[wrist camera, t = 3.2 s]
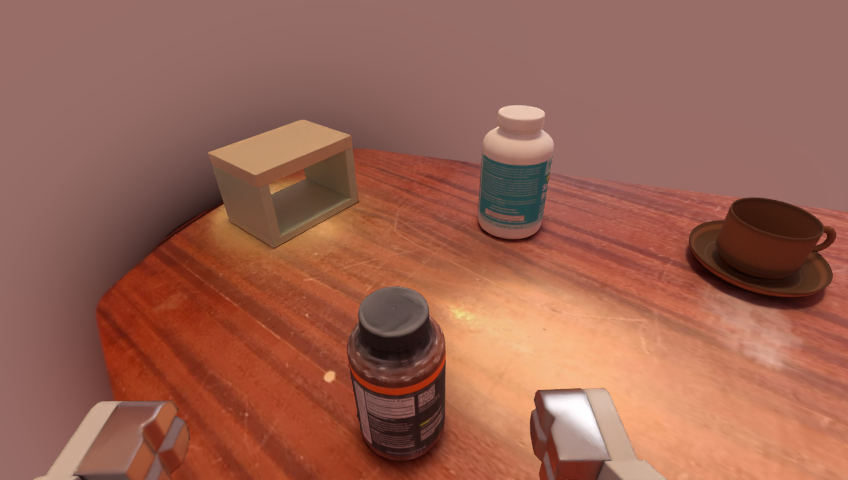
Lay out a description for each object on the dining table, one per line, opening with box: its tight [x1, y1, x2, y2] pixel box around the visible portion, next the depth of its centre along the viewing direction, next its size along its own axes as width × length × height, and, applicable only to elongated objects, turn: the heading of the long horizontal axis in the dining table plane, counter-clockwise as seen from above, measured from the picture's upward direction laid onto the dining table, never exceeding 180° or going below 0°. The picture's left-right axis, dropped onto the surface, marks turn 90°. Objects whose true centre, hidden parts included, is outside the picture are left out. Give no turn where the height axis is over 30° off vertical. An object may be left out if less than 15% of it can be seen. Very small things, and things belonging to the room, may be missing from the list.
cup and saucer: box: [689, 198, 836, 297], centre depth 43 cm, size 12×12×6 cm
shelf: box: [208, 120, 358, 248], centre depth 53 cm, size 13×9×9 cm
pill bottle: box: [478, 105, 554, 239], centre depth 48 cm, size 8×7×14 cm
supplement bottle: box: [347, 287, 446, 461], centre depth 28 cm, size 6×6×11 cm
